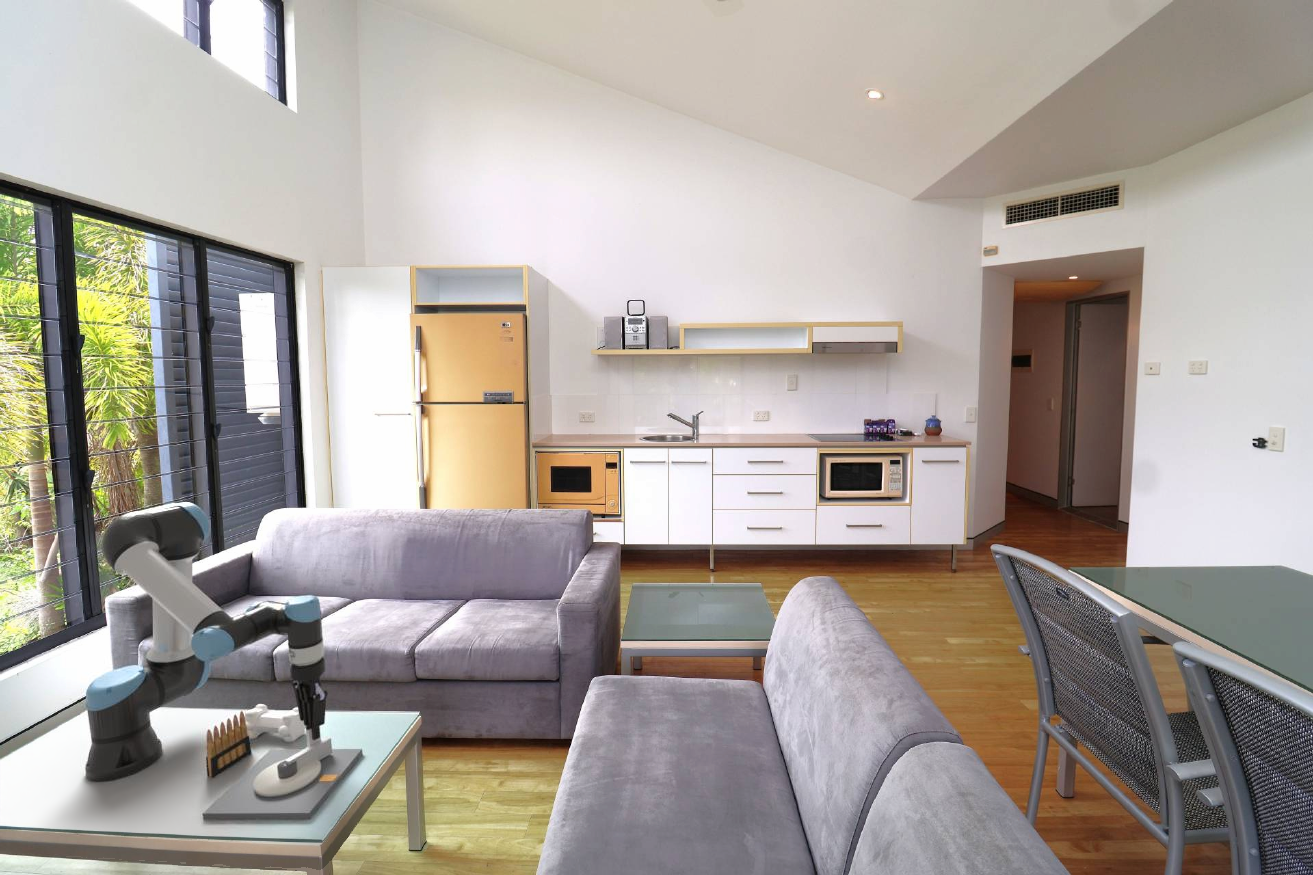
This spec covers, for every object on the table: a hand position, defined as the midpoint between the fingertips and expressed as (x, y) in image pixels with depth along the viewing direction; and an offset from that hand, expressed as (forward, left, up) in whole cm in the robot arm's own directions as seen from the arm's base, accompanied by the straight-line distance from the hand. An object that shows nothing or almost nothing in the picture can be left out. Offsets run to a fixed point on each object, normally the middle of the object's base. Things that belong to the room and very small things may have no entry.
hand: (314, 749), depth 162 cm
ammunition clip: (-22, 0, -4) cm, 22 cm away
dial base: (-2, -8, -4) cm, 9 cm away
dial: (-1, -6, -2) cm, 7 cm away
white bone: (-18, +13, -4) cm, 23 cm away
